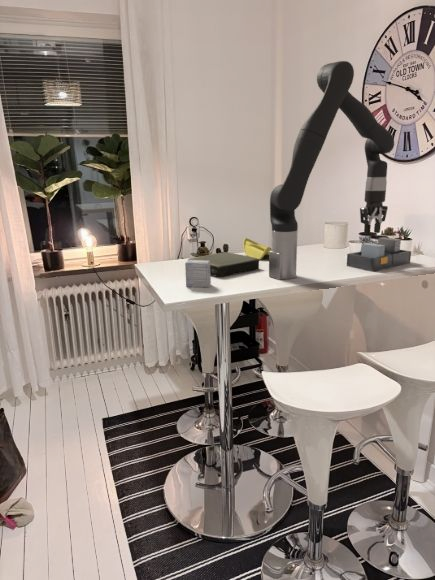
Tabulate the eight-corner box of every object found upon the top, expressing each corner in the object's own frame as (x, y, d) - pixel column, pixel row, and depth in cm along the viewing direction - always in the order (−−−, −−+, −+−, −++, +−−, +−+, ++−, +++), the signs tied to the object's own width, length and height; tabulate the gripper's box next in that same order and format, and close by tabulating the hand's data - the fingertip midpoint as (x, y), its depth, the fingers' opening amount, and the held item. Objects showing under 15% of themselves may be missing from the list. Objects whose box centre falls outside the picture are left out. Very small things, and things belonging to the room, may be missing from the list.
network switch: (263, 269, 172) (263, 256, 171) (225, 280, 156) (225, 267, 154) (220, 261, 188) (220, 250, 186) (182, 271, 171) (181, 259, 170)
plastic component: (282, 253, 190) (265, 245, 185) (275, 268, 191) (258, 261, 185) (258, 243, 207) (242, 236, 201) (252, 257, 207) (236, 250, 202)
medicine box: (211, 284, 149) (210, 260, 147) (208, 288, 145) (207, 263, 142) (189, 283, 151) (188, 259, 148) (185, 287, 146) (184, 262, 144)
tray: (373, 271, 162) (375, 245, 160) (346, 265, 173) (348, 241, 170) (410, 263, 175) (413, 239, 172) (383, 258, 185) (385, 235, 182)
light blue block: (377, 266, 166) (379, 246, 163) (360, 263, 172) (362, 243, 170) (383, 265, 168) (384, 245, 165) (366, 262, 174) (367, 242, 172)
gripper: (371, 190, 156) (368, 236, 160) (395, 188, 163) (391, 232, 168) (355, 189, 162) (352, 234, 167) (379, 188, 169) (375, 230, 174)
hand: (372, 233), depth 167 cm, fingers open, 5 cm apart
